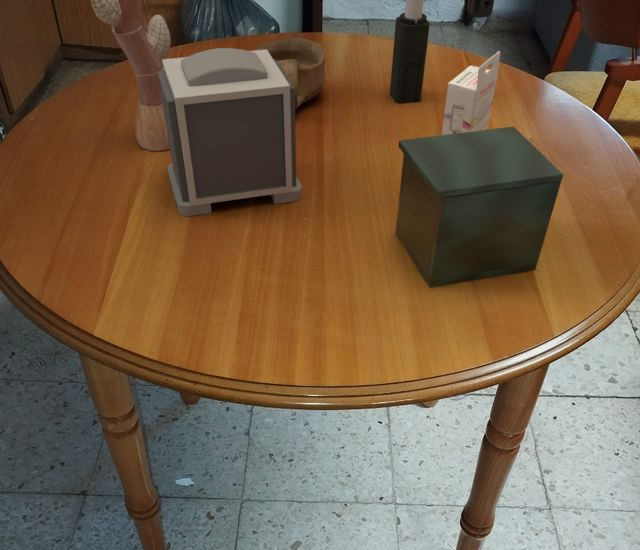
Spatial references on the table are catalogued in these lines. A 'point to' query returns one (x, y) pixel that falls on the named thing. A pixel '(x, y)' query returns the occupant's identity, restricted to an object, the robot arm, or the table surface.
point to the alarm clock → (229, 128)
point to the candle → (409, 53)
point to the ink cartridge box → (471, 98)
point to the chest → (472, 229)
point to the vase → (141, 64)
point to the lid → (478, 161)
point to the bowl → (300, 65)
